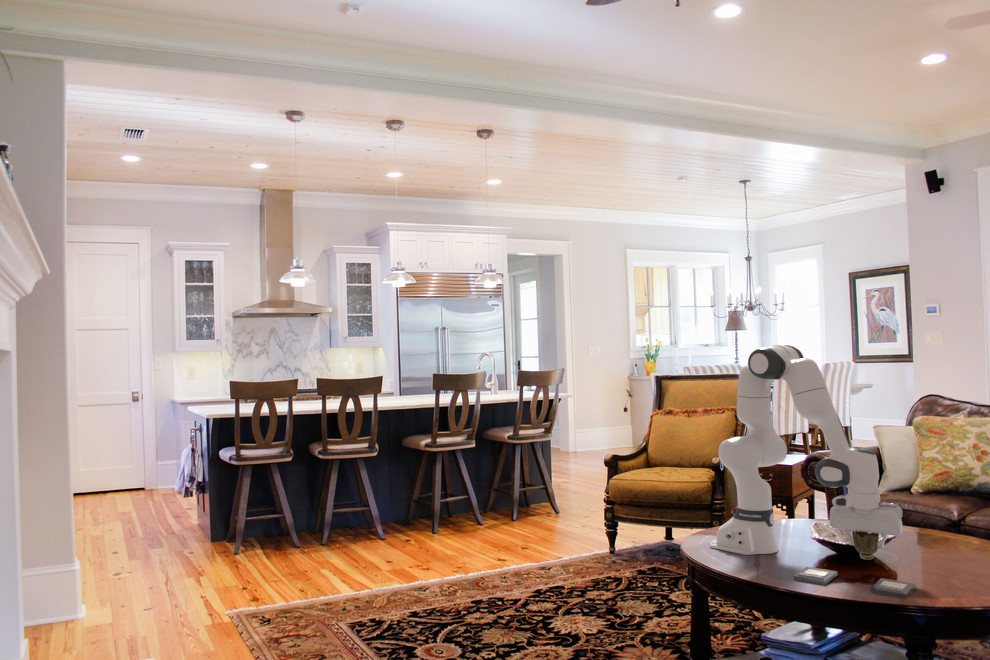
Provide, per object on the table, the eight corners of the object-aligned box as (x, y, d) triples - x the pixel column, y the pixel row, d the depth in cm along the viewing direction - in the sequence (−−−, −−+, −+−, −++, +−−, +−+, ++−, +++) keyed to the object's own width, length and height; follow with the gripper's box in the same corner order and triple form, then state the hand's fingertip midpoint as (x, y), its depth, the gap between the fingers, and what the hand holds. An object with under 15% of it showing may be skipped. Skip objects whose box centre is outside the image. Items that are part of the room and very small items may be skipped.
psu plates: (793, 579, 225) (793, 573, 225) (806, 570, 234) (806, 564, 234) (906, 598, 205) (905, 592, 205) (915, 587, 215) (915, 581, 215)
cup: (849, 559, 231) (848, 532, 231) (858, 554, 236) (857, 528, 237) (875, 563, 226) (873, 536, 226) (883, 558, 231) (882, 531, 231)
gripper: (904, 502, 227) (906, 549, 227) (832, 496, 241) (834, 540, 240) (899, 505, 223) (901, 553, 222) (826, 499, 236) (828, 544, 235)
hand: (866, 546), depth 231 cm, fingers closed on cup, 7 cm apart
